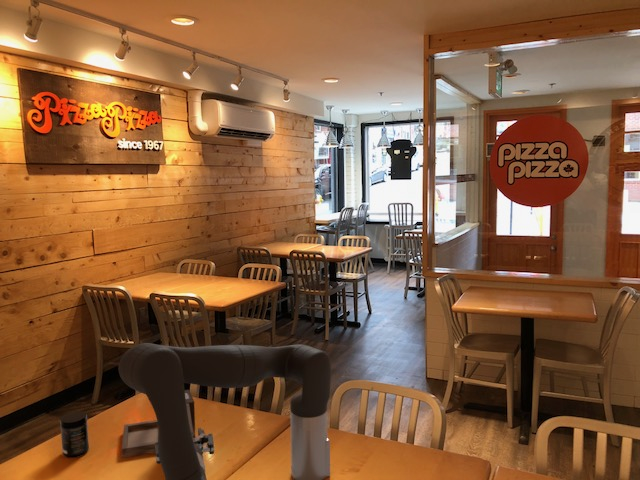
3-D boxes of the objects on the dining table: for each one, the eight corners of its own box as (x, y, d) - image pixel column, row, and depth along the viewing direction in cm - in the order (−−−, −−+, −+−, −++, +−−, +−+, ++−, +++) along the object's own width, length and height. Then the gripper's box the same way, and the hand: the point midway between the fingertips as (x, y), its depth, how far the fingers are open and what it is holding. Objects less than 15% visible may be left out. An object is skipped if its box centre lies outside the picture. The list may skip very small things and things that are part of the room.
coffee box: (197, 458, 141) (194, 401, 139) (172, 463, 139) (169, 406, 136) (192, 442, 149) (190, 388, 147) (169, 447, 147) (166, 392, 145)
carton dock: (164, 426, 159) (164, 418, 158) (166, 450, 145) (165, 441, 145) (124, 432, 155) (123, 424, 155) (122, 457, 142) (121, 449, 141)
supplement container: (94, 449, 146) (92, 414, 145) (73, 461, 140) (70, 424, 139) (79, 443, 149) (76, 409, 148) (57, 455, 143) (54, 419, 142)
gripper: (218, 446, 124) (209, 416, 139) (155, 457, 119) (153, 424, 134) (219, 475, 125) (210, 442, 140) (156, 487, 120) (154, 452, 135)
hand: (182, 434), depth 137 cm, fingers open, 8 cm apart
